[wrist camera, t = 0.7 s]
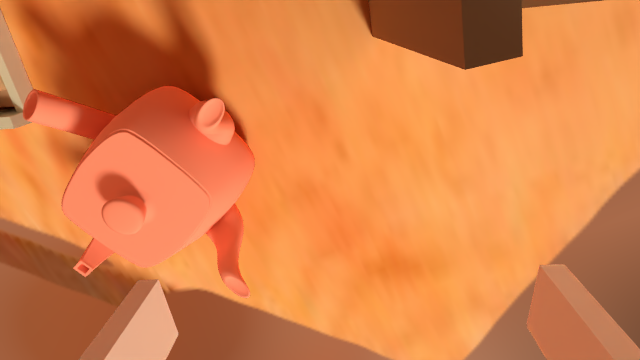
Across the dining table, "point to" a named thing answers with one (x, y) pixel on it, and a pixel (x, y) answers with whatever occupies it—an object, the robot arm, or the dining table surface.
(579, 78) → the dining table surface
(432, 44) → the book
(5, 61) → the rack
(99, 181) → the teapot
